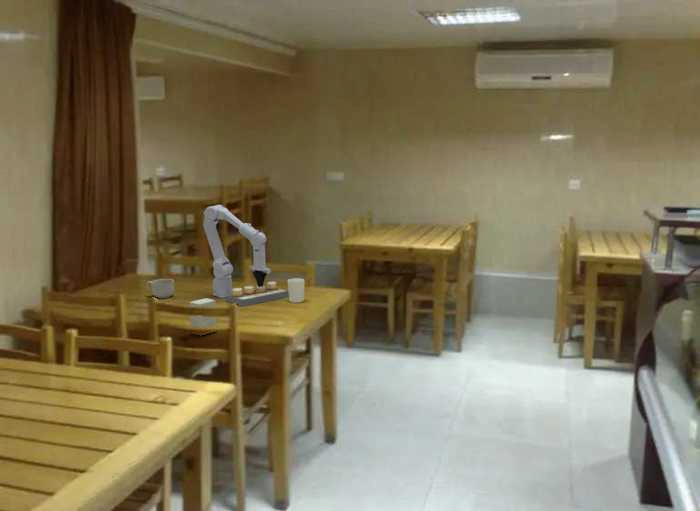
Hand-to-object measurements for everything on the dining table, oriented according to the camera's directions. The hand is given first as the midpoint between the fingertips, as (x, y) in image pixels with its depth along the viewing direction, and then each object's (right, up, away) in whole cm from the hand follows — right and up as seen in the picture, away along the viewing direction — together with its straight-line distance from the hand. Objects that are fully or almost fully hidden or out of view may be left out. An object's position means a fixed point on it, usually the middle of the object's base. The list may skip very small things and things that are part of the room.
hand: (260, 286), depth 317 cm
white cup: (+18, -7, -7) cm, 20 cm away
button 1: (-10, -5, -8) cm, 13 cm away
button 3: (0, -4, +1) cm, 4 cm away
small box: (-14, -16, -57) cm, 61 cm away
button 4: (+5, -2, +5) cm, 7 cm away
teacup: (-49, -6, +6) cm, 50 cm away
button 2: (-5, -4, -4) cm, 7 cm away
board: (-1, -6, -3) cm, 7 cm away
